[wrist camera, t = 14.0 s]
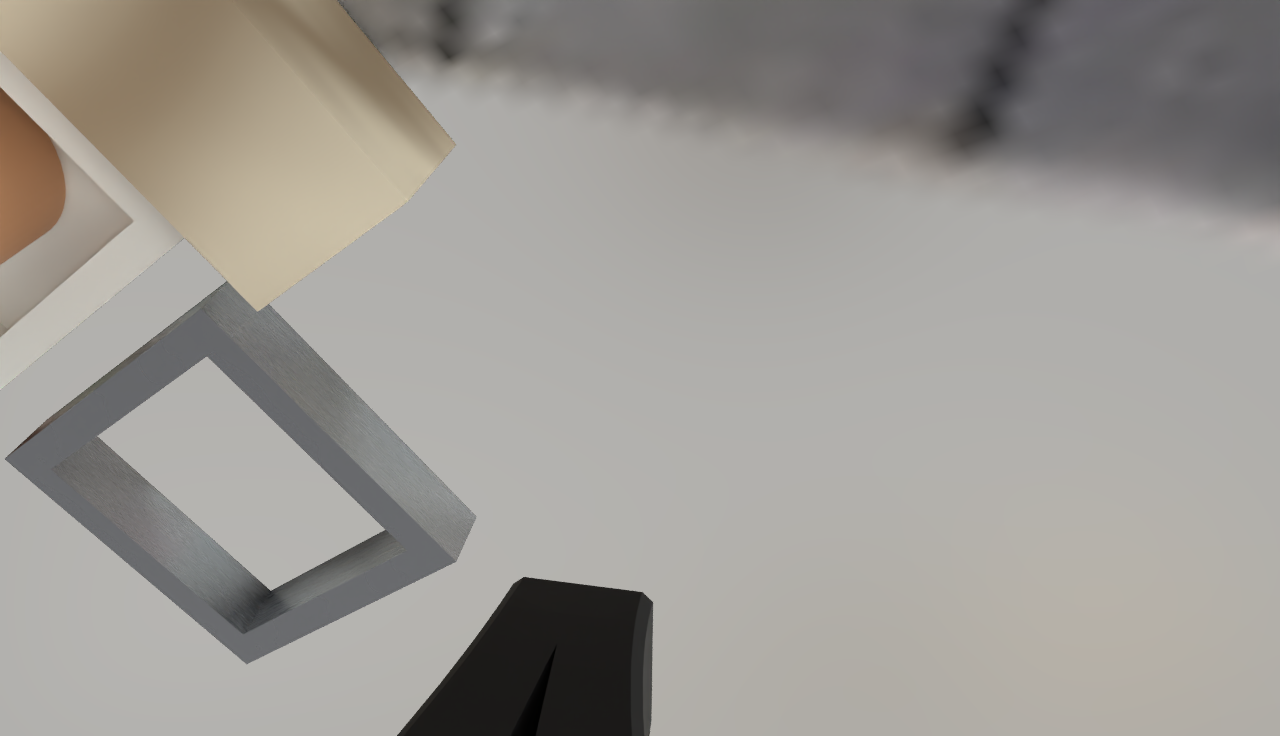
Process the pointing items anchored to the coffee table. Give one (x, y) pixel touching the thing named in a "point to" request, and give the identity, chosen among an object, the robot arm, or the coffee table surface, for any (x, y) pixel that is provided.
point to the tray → (73, 241)
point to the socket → (312, 416)
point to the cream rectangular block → (236, 121)
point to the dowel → (26, 180)
